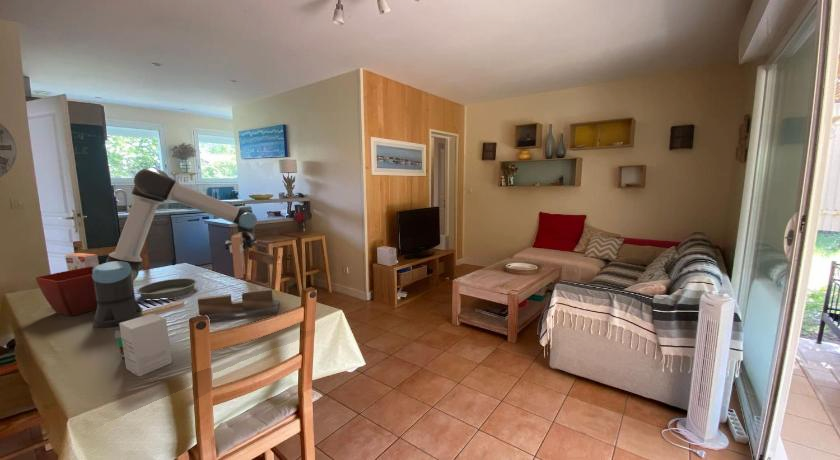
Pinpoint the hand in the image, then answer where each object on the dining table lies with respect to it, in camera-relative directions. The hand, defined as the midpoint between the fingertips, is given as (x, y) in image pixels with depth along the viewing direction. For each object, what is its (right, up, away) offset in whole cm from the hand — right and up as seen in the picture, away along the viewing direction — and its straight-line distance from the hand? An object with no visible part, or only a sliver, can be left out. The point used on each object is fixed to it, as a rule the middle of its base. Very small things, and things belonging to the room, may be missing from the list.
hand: (235, 249), depth 145 cm
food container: (-15, -33, -30) cm, 47 cm away
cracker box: (-90, -25, +28) cm, 97 cm away
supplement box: (-6, -34, -38) cm, 52 cm away
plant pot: (-73, -28, +9) cm, 79 cm away
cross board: (-1, -28, +3) cm, 28 cm away
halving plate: (-2, -12, +7) cm, 14 cm away
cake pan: (-50, -25, +30) cm, 63 cm away
